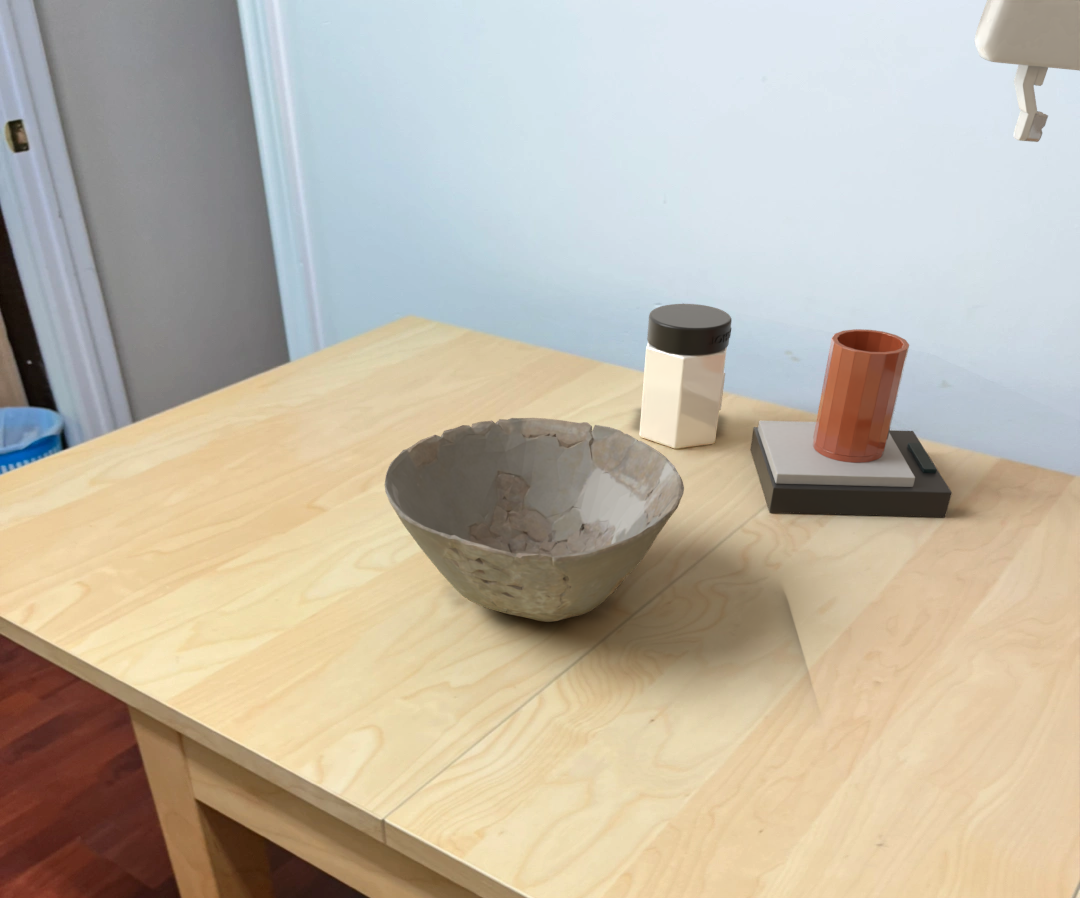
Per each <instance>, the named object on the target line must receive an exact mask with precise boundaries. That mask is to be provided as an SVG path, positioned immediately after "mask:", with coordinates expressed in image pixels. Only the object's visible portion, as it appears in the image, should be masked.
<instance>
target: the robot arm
mask: <svg viewBox="0 0 1080 898" xmlns="http://www.w3.org/2000/svg"><path fill="white" fill-rule="evenodd" d="M974 45H975V49H976V51H977V53H978V56H979V57H980V58H981V59H983V60H985V61H988V62H991V63H998V64H1007V65H1017V68H1016V72H1015V75H1014V77H1013V78H1014V79H1013V84H1014V88H1015V95H1016V100H1017V105H1018V110H1020V111H1019V114H1018V118H1017V120H1016V123H1015V127H1014V130H1013V139H1015V140H1016V141H1020V142H1031V143H1033V142H1034V143H1038V142H1040V141H1041V139H1042V137H1043V129H1044V127H1046V124H1047V121H1048V117H1049V115H1048V114H1046V113H1044V112H1042V111H1038V107H1037V100H1036V94H1035V93H1036V92H1035V87H1034V86H1036V87H1037V86H1038V87H1041V86H1043V84H1044V81H1045V79H1046V76H1047V73H1048V70H1049V68H1050V69H1060V70H1070V71H1079V72H1080V0H986V3H985V5H984V8H983V9H982V14H981V16H980V18H979V22H978V25H977V27H976V32H975V35H974Z"/></svg>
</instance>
